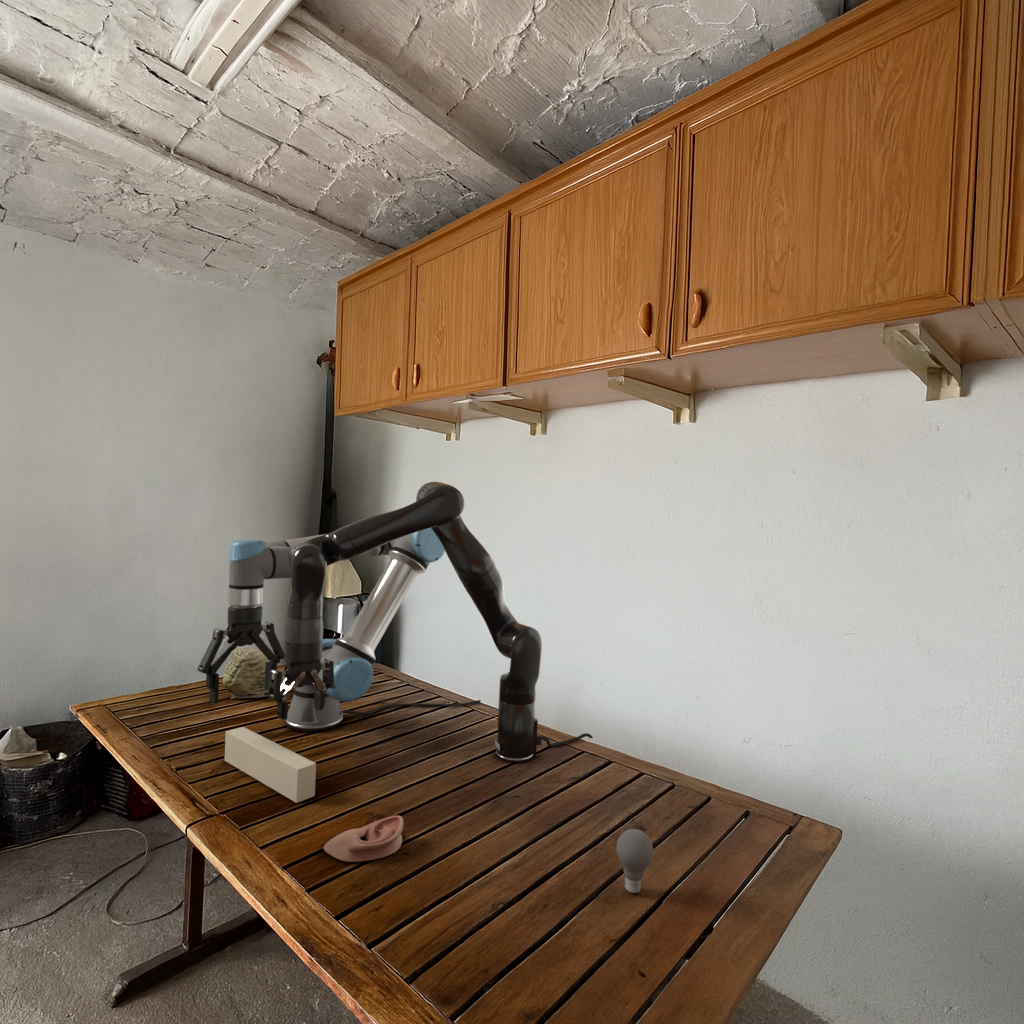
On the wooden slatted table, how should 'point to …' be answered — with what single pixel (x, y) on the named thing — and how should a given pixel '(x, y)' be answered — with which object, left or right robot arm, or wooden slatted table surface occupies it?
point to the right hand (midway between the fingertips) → (301, 714)
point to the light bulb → (634, 857)
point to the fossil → (246, 673)
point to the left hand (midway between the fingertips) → (242, 695)
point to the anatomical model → (367, 841)
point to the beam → (271, 764)
